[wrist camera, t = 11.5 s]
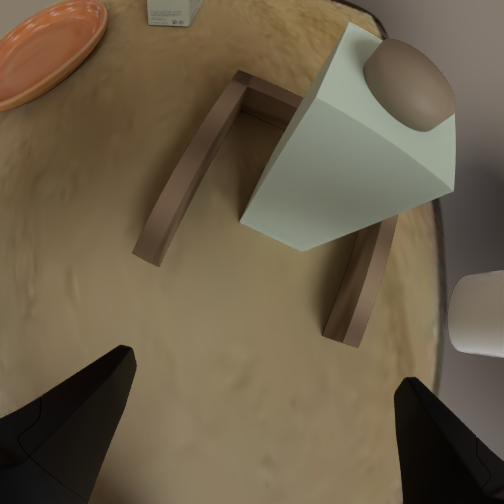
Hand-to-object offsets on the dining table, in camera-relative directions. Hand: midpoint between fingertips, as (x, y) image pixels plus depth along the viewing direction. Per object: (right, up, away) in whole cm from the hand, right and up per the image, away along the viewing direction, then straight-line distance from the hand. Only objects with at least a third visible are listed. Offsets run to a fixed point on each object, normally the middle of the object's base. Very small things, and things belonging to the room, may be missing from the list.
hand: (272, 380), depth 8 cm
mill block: (+2, +7, +11) cm, 13 cm away
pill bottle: (+21, -2, +14) cm, 25 cm away
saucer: (-22, +23, +9) cm, 34 cm away
